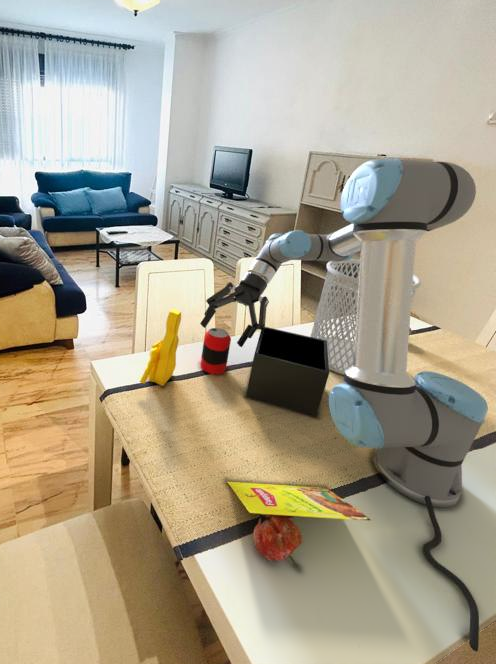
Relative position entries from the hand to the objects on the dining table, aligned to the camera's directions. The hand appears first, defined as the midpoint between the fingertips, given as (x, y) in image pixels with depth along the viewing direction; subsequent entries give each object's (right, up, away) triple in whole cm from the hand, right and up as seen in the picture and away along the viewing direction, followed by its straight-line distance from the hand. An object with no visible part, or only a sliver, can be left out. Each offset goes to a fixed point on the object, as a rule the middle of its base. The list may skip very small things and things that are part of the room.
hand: (220, 335), depth 115 cm
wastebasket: (+43, -9, +10) cm, 45 cm away
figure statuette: (-18, -12, -7) cm, 23 cm away
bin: (+16, -14, -7) cm, 23 cm away
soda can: (-2, -10, 0) cm, 10 cm away
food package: (+13, -25, -45) cm, 53 cm away
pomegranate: (-2, -31, -50) cm, 59 cm away
